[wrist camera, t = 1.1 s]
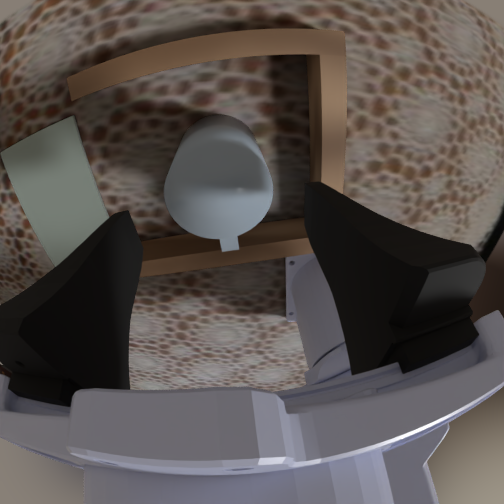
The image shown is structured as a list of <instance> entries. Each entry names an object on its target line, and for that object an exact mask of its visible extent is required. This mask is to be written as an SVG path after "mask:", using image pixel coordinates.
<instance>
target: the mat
mask: <svg viewBox="0 0 504 504" xmlns="http://www.w3.org/2000/svg"><path fill="white" fill-rule="evenodd" d="M0 154H1V157H2V160H3V163H4V166H5V168H6V171H7V173H8V176H9V178H10V181H11V183H12V186H13V188H14V190H15V193H16V195H17V197H18V199H19V201H20V204H21V206H22V208H23V210H24V212H25V214H26V216H27V218H28V220H29V222H30V224H31V226H32V228H33V230H34V232H35V233H36V235H37V237H38V239H39V241H40V243H41V244H42V246H43V248H44V250H45V251H46V253H47V255H48V256H49V258H50V260H51V261H52V263H53V265H54V266H55V267H56V266H57V265H58V264H60V263H61V262H62V261H63V260H64V259H65V258H66V257H68V256H69V255H70V254H71V253H72V252H73V251H74V250H75V249H76V248H77V247H78V246H79V245H80V244H81V243H82V242H84V241H85V240H86V239H87V238H88V237H89V236H90V235H91V234H92V233H93V232H94V231H95V230H96V229H97V228H98V227H99V226H100V225H101V224H102V223H104V222H105V221H106V220H107V219H108V218H109V215H108V213H107V210H106V208H105V205H104V203H103V200H102V198H101V195H100V193H99V190H98V187H97V185H96V182H95V179H94V176H93V174H92V171H91V168H90V165H89V162H88V159H87V156H86V153H85V150H84V147H83V143H82V140H81V137H80V134H79V130H78V127H77V123H76V119H75V116H74V115H73V116H71V117H68V118H66V119H64V120H61V121H59V122H57V123H55V124H53V125H51V126H48V127H46V128H44V129H42V130H40V131H38V132H36V133H34V134H32V135H30V136H29V137H27V138H25V139H23V140H21V141H19V142H18V143H16V144H14V145H12V146H11V147H9V148H7V149H5V150H4V151H2V152H1V153H0Z"/></svg>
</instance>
